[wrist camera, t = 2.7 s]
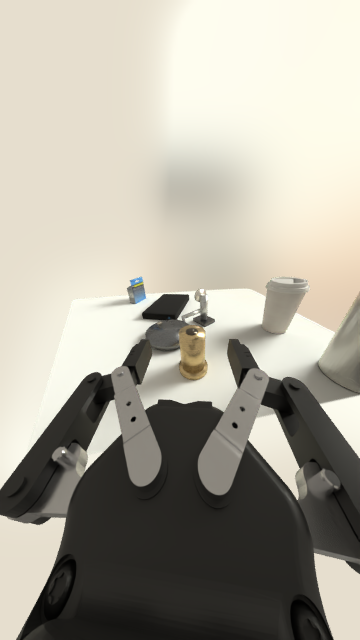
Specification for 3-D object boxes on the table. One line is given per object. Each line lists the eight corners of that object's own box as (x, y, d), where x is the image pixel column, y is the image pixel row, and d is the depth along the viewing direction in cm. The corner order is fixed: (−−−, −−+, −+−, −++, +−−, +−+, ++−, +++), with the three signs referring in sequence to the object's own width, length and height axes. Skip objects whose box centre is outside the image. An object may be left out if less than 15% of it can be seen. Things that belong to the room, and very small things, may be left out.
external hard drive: (189, 300, 71) (188, 294, 69) (175, 321, 52) (175, 315, 50) (164, 299, 75) (163, 294, 73) (143, 319, 56) (141, 312, 54)
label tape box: (141, 297, 79) (136, 276, 73) (146, 298, 78) (142, 276, 72) (130, 303, 72) (124, 280, 66) (136, 304, 71) (130, 280, 65)
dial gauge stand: (203, 316, 53) (203, 287, 47) (214, 321, 49) (216, 290, 43) (177, 327, 47) (174, 295, 42) (188, 334, 43) (186, 300, 37)
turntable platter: (175, 319, 51) (174, 315, 50) (200, 335, 40) (200, 330, 39) (139, 333, 44) (138, 329, 43) (159, 357, 34) (158, 352, 33)
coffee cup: (282, 341, 37) (301, 287, 30) (250, 326, 44) (259, 280, 37) (298, 329, 41) (319, 279, 34) (267, 317, 48) (278, 274, 41)
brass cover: (194, 354, 35) (193, 320, 30) (213, 369, 31) (215, 332, 25) (174, 366, 32) (169, 330, 27) (191, 385, 27) (189, 346, 22)
